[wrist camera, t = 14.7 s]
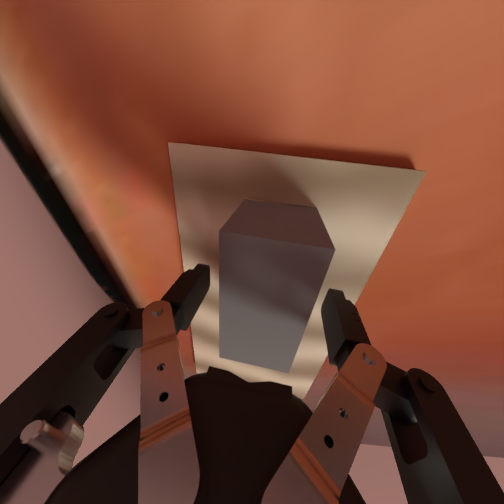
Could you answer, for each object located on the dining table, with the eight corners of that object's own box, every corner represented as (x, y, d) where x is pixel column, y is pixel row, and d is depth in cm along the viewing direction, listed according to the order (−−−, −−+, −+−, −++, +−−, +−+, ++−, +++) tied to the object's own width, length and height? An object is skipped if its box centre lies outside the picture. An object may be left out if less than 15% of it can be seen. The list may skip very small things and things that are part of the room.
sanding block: (245, 197, 13) (219, 231, 8) (316, 207, 13) (335, 249, 8) (238, 298, 18) (219, 357, 13) (288, 308, 18) (288, 373, 13)
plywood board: (175, 142, 13) (167, 142, 12) (416, 169, 11) (426, 171, 11) (199, 366, 29) (196, 372, 28) (303, 390, 27) (303, 398, 26)
